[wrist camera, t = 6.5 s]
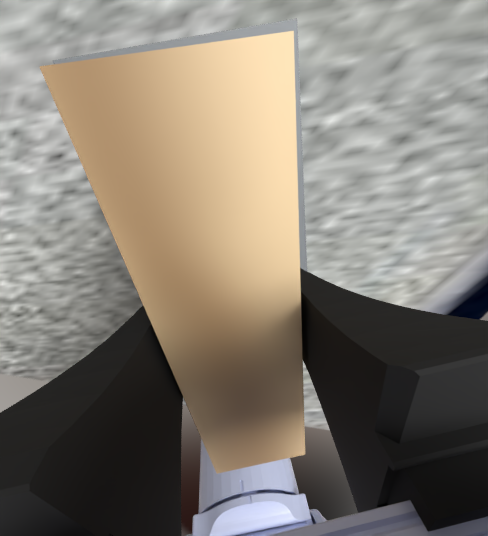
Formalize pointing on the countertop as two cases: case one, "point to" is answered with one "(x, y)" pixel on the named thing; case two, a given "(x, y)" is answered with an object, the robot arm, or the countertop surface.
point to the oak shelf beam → (205, 223)
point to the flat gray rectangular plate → (229, 35)
